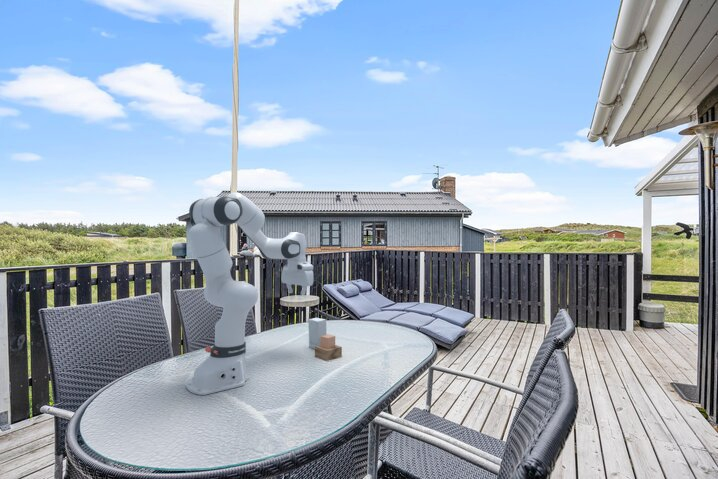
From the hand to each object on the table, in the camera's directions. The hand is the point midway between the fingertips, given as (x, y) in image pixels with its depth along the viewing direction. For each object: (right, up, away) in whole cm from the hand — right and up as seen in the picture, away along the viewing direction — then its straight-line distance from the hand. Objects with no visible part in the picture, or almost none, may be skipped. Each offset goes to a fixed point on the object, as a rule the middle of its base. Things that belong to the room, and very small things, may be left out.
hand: (296, 293), depth 174 cm
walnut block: (+16, -30, -3) cm, 34 cm away
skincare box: (+9, -30, +10) cm, 33 cm away
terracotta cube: (+15, -25, -3) cm, 29 cm away
